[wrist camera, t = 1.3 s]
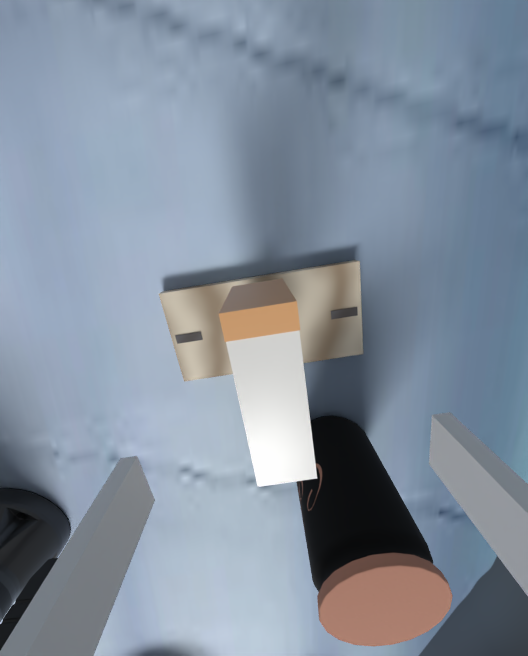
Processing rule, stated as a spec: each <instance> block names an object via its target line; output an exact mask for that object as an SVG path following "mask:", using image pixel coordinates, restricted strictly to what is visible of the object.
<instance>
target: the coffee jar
mask: <svg viewBox="0 0 528 656" xmlns="http://www.w3.org/2000/svg"><path fill="white" fill-rule="evenodd" d="M310 423H311V431H312V439H313V447H314V456H315V464H316V472H317V479H310V480H303V481H297V487H298V493H299V499H300V505H301V511H302V518H303V524H304V530H305V536H306V542H307V548H308V554H309V560H310V567H311V573H312V579H313V582H314V585H315V587H316V588H317V590H318V591H319V593H318V596H317V598H318V611H319V620H320V622H321V623H322V625H323V627H324V628H325V630H326V631H327V632H328V633H329V634H331V635H332V636H334V637H336V638H337V639H339V640H341V641H344V642H348V643H351V644H354V645H364V646H382V645H392V644H396V643H400V642H403V641H407V640H411V639H413V638H415V637H417V636H419V635H421V634H423V633H425V632H428V631H429V630H430V629H431V628H433V627H434V626H435V625H437V624H438V623H439V622H440V621H442V619H443V618H444V616H445V615H446V613H447V612H448V611H449V609H450V606H451V601H452V593H451V590H450V587H449V584H448V582H447V580H446V579H445V577H444V575H443V574H442V572H441V571H440V570H439V569H438V568H437V567H435V566H434V565H433V560H432V557H431V554H430V551H429V548H428V546H427V543H426V542H425V540H424V538H423V536H422V534H421V533H420V531H419V529H418V527H417V525H416V524H415V522H414V520H413V518H412V516H411V515H410V513H409V511H408V509H407V507H406V506H405V504H404V502H403V500H402V498H401V497H400V495H399V493H398V491H397V489H396V488H395V486H394V484H393V482H392V480H391V478H390V477H389V475H388V473H387V471H386V469H385V468H384V466H383V464H382V462H381V460H380V459H379V457H378V455H377V453H376V451H375V450H374V448H373V446H372V444H371V442H370V441H369V439H368V437H367V435H366V433H365V432H364V431H363V430H362V429H361V428H360V427H359V425H358V424H356V423H354V422H352V421H350V420H348V419H346V418H343V417H337V416H324V417H320V418H317V419H314V420H312V421H310Z"/></svg>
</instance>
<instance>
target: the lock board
mask: <svg viewBox="0 0 528 656" xmlns="http://www.w3.org/2000/svg"><path fill="white" fill-rule="evenodd" d="M281 278H283V280H284V282H285V283H286V285H287V286H288V288H289V289H290V291H291V293H292V294H293V296H294V297H295V299H296V301H297V306H298V314H299V323H300V330H299V332H300V340H301V348H302V356H303V363H308V362H314V361H321V360H327V359H334V358H340V357H347V356H353V355H360V354H363V335H362V308H361V282H360V261H357V260H352V261H346V262H340V263H334V264H328V265H322V266H315V267H309V268H303V269H297V270H291V271H285V272H279V273H273V274H266V275H260V276H254V277H248V278H242V279H236V280H230V281H223V282H217V283H211V284H205V285H199V286H193V287H187V288H180V289H174V290H168V291H163V292H161V293H160V294H159V296H160V300H161V303H162V307H163V310H164V314H165V317H166V320H167V324H168V327H169V331H170V334H171V338H172V341H173V344H174V348H175V351H176V355H177V358H178V362H179V365H180V369H181V372H182V375H183V379H184V381H190V380H197V379H203V378H210V377H216V376H223V375H229V374H233V372H232V367H231V363H230V358H229V354H228V349H227V345H226V342H225V341H224V336H223V332H222V327H221V323H220V318H219V312H220V310H221V308H222V306H223V304H224V302H225V300H226V298H227V296H228V294H229V292H230V290H231V288H232V286H238V285H244V284H250V283H256V282H263V281H269V280H275V279H281Z"/></svg>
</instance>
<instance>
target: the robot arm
mask: <svg viewBox="0 0 528 656" xmlns="http://www.w3.org/2000/svg"><path fill="white" fill-rule="evenodd" d="M429 464H430V466H431V467H432V468H433V470H434V471H435V472H436V474H437V475H438V476H439V478H440V479H441V480H442V482H443V483H444V484H445V486H446V487H447V489H448V490H449V491H450V493H451V494H452V495H453V497H454V498H455V499H456V501H457V502H458V503H459V505H460V506H461V507H462V509H463V510H464V511H465V513H466V514H467V515H468V517H469V518H470V519H471V521H472V522H473V523H474V525H475V526H476V527H477V529H478V530H479V531H480V533H481V534H482V535H483V537H484V538H485V539H486V541H487V542H488V543H489V545H490V546H491V547H492V549H493V550H494V551H495V553H496V554H497V556H498V557H499V558H500V560H501V561H502V562H503V564H504V565H505V566H506V568H507V569H508V570H509V572H510V573H511V574H512V576H513V577H514V578H515V580H516V581H517V582H518V583H519V585H520V586H521V588H522V589H523V590H524V592H525V593H526V594H527V596H528V484H527V483H526V482H525V481H524V480H523V479H522V478H521V477H519V476H518V475H517V474H516V473H515V472H514V471H513V470H512V469H511V468H510V467H509V466H508V465H506V464H505V463H504V462H503V461H502V460H501V459H500V458H499V457H498V456H497V455H496V454H495V453H493V452H492V451H491V450H490V449H489V448H488V447H487V446H486V445H485V444H484V443H483V442H482V441H480V440H479V439H478V438H477V437H476V436H475V435H474V434H473V433H472V432H471V431H470V430H469V429H467V428H466V427H465V426H464V425H463V424H462V423H461V422H460V421H459V420H458V419H457V418H456V417H454V416H453V415H452V414H451V413H442V414H435V415H432V425H431V441H430V457H429ZM154 501H155V499H154V497H153V495H152V492H151V490H150V487H149V485H148V482H147V480H146V477H145V475H144V472H143V470H142V467H141V465H140V462H139V460H138V457H137V456H134V457H127V458H120V460H119V462H118V463H117V465H116V466H115V468H114V470H113V471H112V473H111V474H110V476H109V478H108V479H107V481H106V482H105V484H104V486H103V487H102V489H101V490H100V492H99V494H98V495H97V497H96V498H95V500H94V502H93V503H92V505H91V506H90V508H89V510H88V511H87V513H86V514H85V516H84V518H83V519H82V521H81V522H80V524H79V526H78V527H77V529H76V530H75V532H74V534H73V535H72V537H71V538H70V540H69V542H68V543H67V541H68V539H69V536H70V526H69V523H68V520H67V518H66V517H65V515H64V514H63V513H62V511H61V510H60V509H59V508H58V507H57V506H55V505H54V504H53V503H51V502H50V501H48V500H47V499H45V498H43V497H41V496H39V495H36V494H34V493H31V492H27V491H23V490H18V489H0V622H1V620H2V619H3V622H2V623H1V624H0V656H93V655H94V653H95V650H96V648H97V645H98V643H99V640H100V638H101V635H102V633H103V630H104V627H105V625H106V622H107V620H108V617H109V615H110V612H111V610H112V607H113V605H114V602H115V600H116V597H117V595H118V592H119V590H120V587H121V585H122V582H123V579H124V577H125V574H126V572H127V569H128V567H129V564H130V562H131V559H132V557H133V554H134V552H135V549H136V547H137V544H138V542H139V539H140V537H141V534H142V531H143V529H144V526H145V524H146V521H147V519H148V516H149V514H150V511H151V509H152V506H153V504H154ZM66 543H67V545H66ZM65 545H66V546H65ZM64 546H65V548H64ZM63 548H64V550H63V551H62V549H63ZM61 551H62V553H61ZM60 553H61V554H60ZM59 554H60V556H59ZM58 556H59V558H57V557H58ZM15 600H16V602H15V604H14V605H12V604H13V603H14V601H15ZM11 605H12V606H11ZM10 607H11V608H10ZM9 608H10V609H9ZM8 610H9V611H8ZM7 611H8V612H7ZM6 613H7V614H6ZM5 614H6V615H5ZM4 616H5V617H4ZM3 617H4V618H3Z"/></svg>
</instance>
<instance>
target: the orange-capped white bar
mask: <svg viewBox="0 0 528 656" xmlns="http://www.w3.org/2000/svg"><path fill="white" fill-rule="evenodd" d="M219 318H220V323H221V327H222V332H223V336H224V341H225V342H226V345H227V349H228V354H229V358H230V363H231V367H232V372H233V376H234V381H235V385H236V390H237V394H238V399H239V404H240V408H241V413H242V417H243V422H244V426H245V431H246V435H247V440H248V444H249V449H250V453H251V458H252V462H253V467H254V471H255V476H256V481H257V485H258V487H260V486H267V485H274V484H281V483H289V482H296V481H303V480H310V479H317V472H316V464H315V456H314V447H313V439H312V431H311V423H310V414H309V406H308V398H307V389H306V381H305V373H304V365H303V356H302V348H301V340H300V332H299V330H300V323H299V314H298V306H297V301H296V299H295V297H294V296H293V294H292V293H291V291H290V289H289V288H288V286H287V285H286V283H285V282H284V280H283V278H281V279H275V280H269V281H263V282H256V283H250V284H244V285H238V286H232V288H231V290H230V292H229V294H228V296H227V298H226V300H225V302H224V304H223V306H222V308H221V310H220V312H219Z"/></svg>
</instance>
